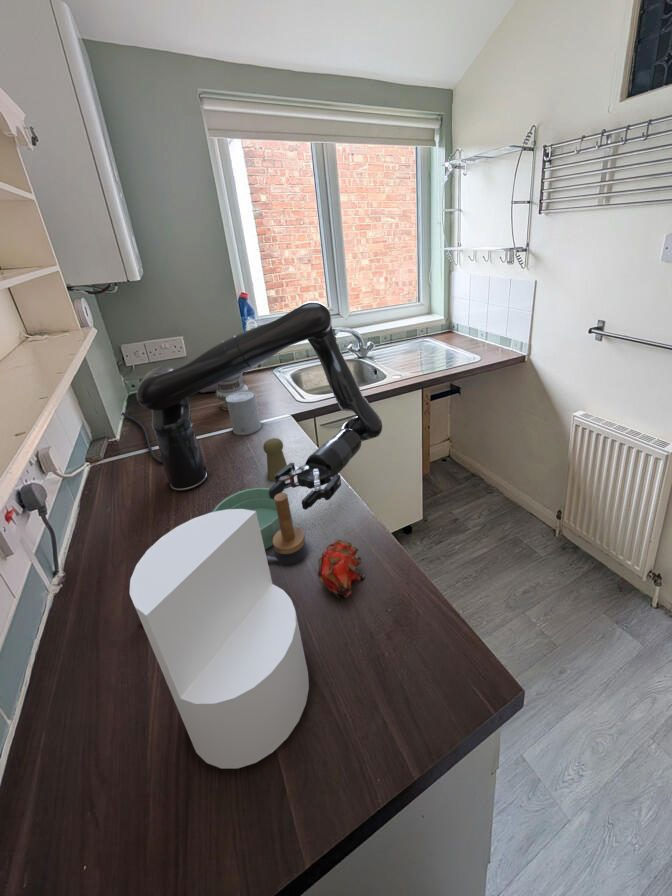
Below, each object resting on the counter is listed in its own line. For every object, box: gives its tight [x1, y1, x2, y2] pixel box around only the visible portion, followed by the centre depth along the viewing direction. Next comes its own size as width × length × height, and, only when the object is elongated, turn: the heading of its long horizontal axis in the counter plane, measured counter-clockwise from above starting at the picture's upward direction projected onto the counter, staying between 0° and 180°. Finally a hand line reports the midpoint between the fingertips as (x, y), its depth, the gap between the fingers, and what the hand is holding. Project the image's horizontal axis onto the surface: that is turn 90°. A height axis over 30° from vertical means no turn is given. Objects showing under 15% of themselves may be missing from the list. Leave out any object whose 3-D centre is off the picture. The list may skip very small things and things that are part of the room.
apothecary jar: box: [215, 372, 249, 411], centre depth 156 cm, size 12×12×18 cm
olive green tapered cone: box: [262, 437, 288, 482], centre depth 111 cm, size 6×6×11 cm
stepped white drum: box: [129, 509, 310, 769], centre depth 55 cm, size 17×17×28 cm
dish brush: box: [272, 492, 308, 567], centre depth 83 cm, size 7×7×15 cm
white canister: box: [226, 390, 262, 436], centre depth 138 cm, size 10×10×12 cm
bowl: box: [211, 487, 280, 551], centre depth 92 cm, size 16×16×6 cm
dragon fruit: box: [317, 539, 367, 598], centre depth 77 cm, size 8×8×12 cm
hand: (286, 500), depth 82 cm, fingers open, 8 cm apart
